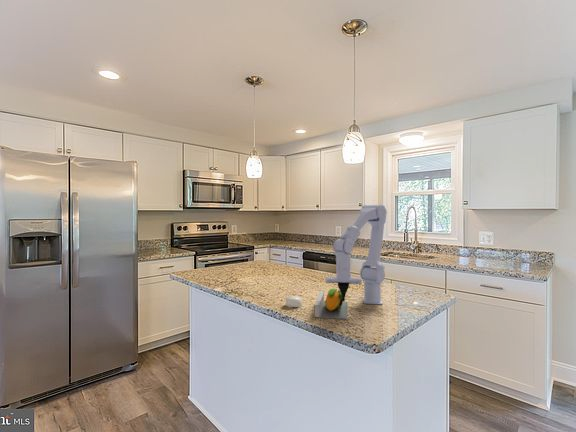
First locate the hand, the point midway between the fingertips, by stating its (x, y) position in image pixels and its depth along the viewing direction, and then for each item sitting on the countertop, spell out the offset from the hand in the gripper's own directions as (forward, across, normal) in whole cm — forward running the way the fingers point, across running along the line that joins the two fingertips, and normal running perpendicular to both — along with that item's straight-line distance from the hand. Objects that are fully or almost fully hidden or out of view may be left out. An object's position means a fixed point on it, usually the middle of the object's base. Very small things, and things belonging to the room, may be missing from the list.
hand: (343, 300), depth 125 cm
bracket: (+4, -5, 0) cm, 6 cm away
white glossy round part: (+4, -22, +3) cm, 22 cm away
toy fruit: (+4, -4, -1) cm, 5 cm away
